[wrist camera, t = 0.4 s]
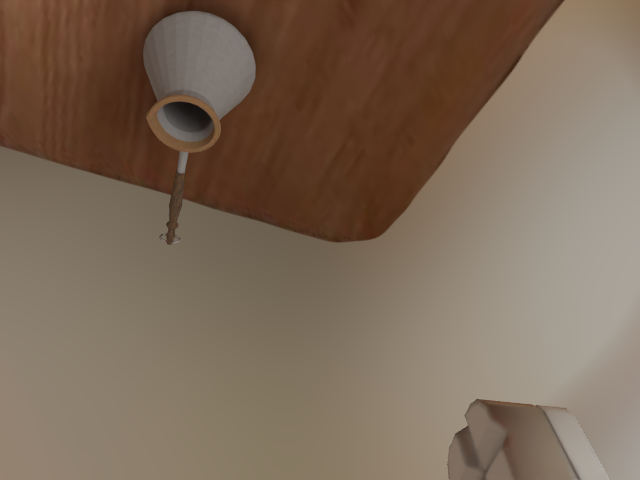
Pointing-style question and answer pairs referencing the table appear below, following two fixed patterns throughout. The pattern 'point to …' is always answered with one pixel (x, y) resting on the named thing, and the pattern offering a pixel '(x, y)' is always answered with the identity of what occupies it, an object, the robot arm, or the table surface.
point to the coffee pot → (194, 86)
